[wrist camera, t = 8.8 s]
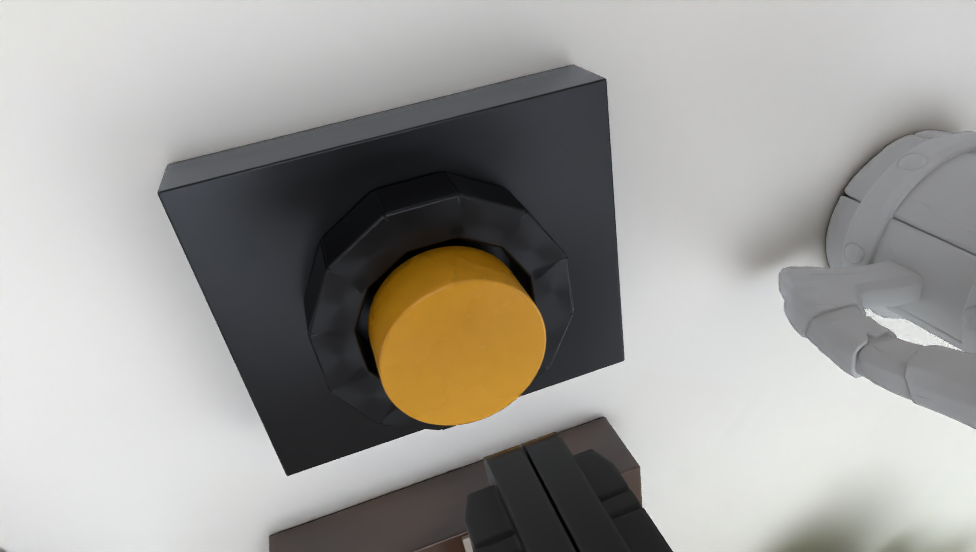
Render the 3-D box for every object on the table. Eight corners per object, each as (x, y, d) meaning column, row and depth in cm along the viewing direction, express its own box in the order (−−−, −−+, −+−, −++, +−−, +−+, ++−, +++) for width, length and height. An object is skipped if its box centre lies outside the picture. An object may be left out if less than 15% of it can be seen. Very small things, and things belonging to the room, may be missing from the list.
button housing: (574, 63, 20) (639, 92, 16) (597, 328, 25) (651, 391, 22) (166, 164, 18) (145, 221, 14) (284, 432, 23) (289, 519, 19)
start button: (508, 225, 18) (536, 258, 16) (529, 353, 20) (555, 395, 18) (348, 272, 17) (358, 312, 15) (388, 400, 19) (402, 448, 17)
